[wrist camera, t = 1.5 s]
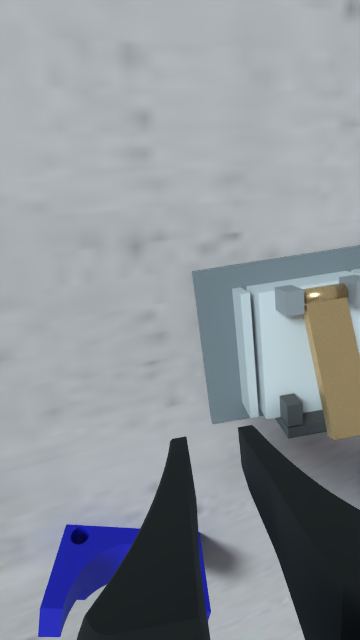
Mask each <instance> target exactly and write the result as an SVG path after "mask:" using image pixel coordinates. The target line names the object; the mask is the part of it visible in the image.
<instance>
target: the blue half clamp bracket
mask: <svg viewBox="0 0 360 640" xmlns="http://www.w3.org/2000/svg"><path fill="white" fill-rule="evenodd" d="M139 530H140V529H136V528H118V527H101V526H83V525H66V528H65V531H64V534H63V537H62V540H61V544H60V547H59V550H58V553H57V556H56V560H55V563H54V566H53V569H52V572H51V575H50V579H49V582H48V585H47V588H46V591H45V594H44V598H43V601H42V604H41V607H40V618H39V633H38V637H60V636H61V632H62V629H63V626H64V623H65V620H66V618H67V616H68V614H69V612H70V610H71V608H72V606H73V604H74V603H75V601H76V600H85V599H86V598H87V597H89V596H90V595H91V594H92V593H93V592H95V591H96V590H97V589H99V588H101V587H102V586H104V585H106V584H108V582H109V581H110V580H111V578H112V576H113V575H114V573H115V572H116V570H117V568H118V567H119V565H120V564H121V562H122V560H123V559H124V557H125V556H126V554H127V552H128V551H129V549H130V547H131V545H132V544H133V542H134V540H135V538H136V536H137V534H138V532H139ZM198 536H199V552H200V566H201V576H202V583H203V591H204V598H205V605H206V613H207V620H208V619H209V616H210V613H211V609H210V602H209V595H208V588H207V581H206V575H205V568H204V561H203V554H202V547H201V540H200V533H199V532H198Z"/></svg>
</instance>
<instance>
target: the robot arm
mask: <svg viewBox="0 0 360 640" xmlns="http://www.w3.org/2000/svg"><path fill="white" fill-rule="evenodd" d="M238 433H239V443H240V453H241V463H242V468H243V471H244V475H245V478H246V481H247V484H248V487H249V490H250V493H251V495H252V497H253V500H254V502H255V504H256V507H257V509H258V511H259V514H260V516H261V518H262V521H263V523H264V525H265V528H266V530H267V532H268V535H269V537H270V539H271V542H272V544H273V546H274V549H275V552H276V554H277V557H278V559H279V562H280V565H281V568H282V571H283V574H284V577H285V580H286V583H287V586H288V589H289V592H290V595H291V598H292V601H293V604H294V607H295V610H296V613H297V616H298V619H299V622H300V625H301V628H302V631H303V634H304V638H305V640H360V510H359V509H357V508H355V507H354V506H352V505H350V504H349V503H347V502H345V501H344V500H342V499H340V498H339V497H337V496H336V495H334V494H333V493H331V492H329V491H328V490H327V489H325V488H324V487H322V486H321V485H319V484H318V483H317V482H315V481H314V480H313V479H311V478H310V477H309V476H307V475H306V474H305V473H304V472H302V471H301V470H300V469H299V468H297V467H296V466H295V465H294V464H293V463H291V462H290V461H289V460H288V459H287V458H286V457H285V456H284V455H282V454H281V453H280V452H279V451H278V450H277V449H276V448H275V447H274V446H273V445H272V444H271V443H270V442H269V441H267V440H266V439H265V438H264V437H263V435H262V434H261V433H260V432H259V431H258V430H257V429H256V428H255V427H254V426H252V425H250V426H244V427H238ZM77 640H210V634H209V627H208V620H207V613H206V605H205V598H204V591H203V583H202V576H201V566H200V552H199V536H198V520H197V504H196V495H195V488H194V482H193V475H192V469H191V463H190V457H189V451H188V445H187V439H186V437H181V438H175V439H172V440H171V441H170V447H169V453H168V457H167V461H166V465H165V468H164V472H163V475H162V478H161V481H160V484H159V487H158V490H157V492H156V495H155V497H154V500H153V503H152V505H151V507H150V510H149V512H148V514H147V516H146V518H145V520H144V523H143V525H142V527H141V528H140V530H139V532H138V534H137V536H136V538H135V540H134V542H133V544H132V545H131V547H130V549H129V551H128V552H127V554H126V556H125V557H124V559H123V560H122V562H121V564H120V565H119V567H118V568H117V570H116V572H115V573H114V575H113V576H112V578H111V580H110V581H109V582H108V584H107V585H106V587H105V588H104V590H103V591H102V592H101V594H100V595H99V597H98V598H97V599H96V601H95V602H94V604H93V605H92V606H91V608H90V609H89V610H88V612H87V613H86V615H85V616H84V619H83V622H82V625H81V628H80V631H79V634H78V637H77Z"/></svg>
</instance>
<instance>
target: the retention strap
mask: <svg viewBox="0 0 360 640" xmlns="http://www.w3.org/2000/svg"><path fill="white" fill-rule="evenodd" d="M347 296H348V290H347V287H346V285H345V284H343V283H339V284H333V285H327V286H320V287H314V288H308V289H304V314H303V316H304V320H305V325H306V330H307V335H308V340H309V345H310V350H311V355H312V360H313V365H314V370H315V375H316V379H317V384H318V389H319V394H320V399H321V404H322V409H323V414H324V419H325V424H326V429H327V434H328V437H330V438H331V439H333V440H337V439H343V438H348V437H354V436H360V355H359V351H358V346H357V341H356V337H355V332H354V328H353V323H352V319H351V314H350V309H349V305H348V300H347Z"/></svg>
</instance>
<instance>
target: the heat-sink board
mask: <svg viewBox="0 0 360 640" xmlns="http://www.w3.org/2000/svg"><path fill="white" fill-rule="evenodd" d="M192 275H193V283H194V290H195V298H196V306H197V313H198V321H199V329H200V337H201V344H202V352H203V360H204V367H205V375H206V383H207V390H208V398H209V406H210V413H211V420H212V424H216V423H222V422H228V421H233V420H239V419H245V418H255V417H259V416H262V415H264V416H265V418H266V419H271V418H276V420H277V421H278V423H279V424H280V426H281V428H282V429H283V431H284V432H285V434H286V435H287V437H288V438H293V437H298V436H304V435H310V434H315V433H321V432H326V431H327V429H326V424H325V419H324V414H323V409H322V404H321V399H320V394H319V389H318V384H317V379H316V375H315V370H314V365H313V360H312V355H311V350H310V345H309V340H308V335H307V330H306V325H305V320H304V316H303V314H304V289H308V288H314V287H320V286H327V285H333V284H339V283H343V284H345V285H346V287H347V290H348V296H347V300H348V305H349V309H350V314H351V319H352V323H353V328H354V332H355V337H356V341H357V346H358V351H359V355H360V245H359V246H353V247H346V248H340V249H333V250H327V251H320V252H314V253H308V254H301V255H295V256H288V257H282V258H275V259H269V260H262V261H256V262H249V263H243V264H236V265H230V266H224V267H217V268H211V269H204V270H198V271H192Z"/></svg>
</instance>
